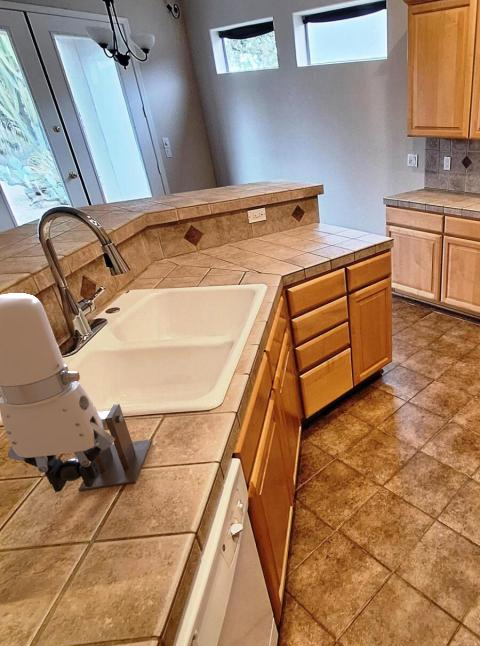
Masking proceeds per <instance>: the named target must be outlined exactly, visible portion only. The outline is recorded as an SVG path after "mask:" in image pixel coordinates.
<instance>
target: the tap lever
mask: <svg viewBox="0 0 480 646" xmlns="http://www.w3.org/2000/svg"><path fill="white" fill-rule="evenodd" d="M110 410H111V409H108V410H101V411H100V410H99V411H97V412H98V415H99V417H100V419H101V421H102V424H103V430H104V431H109V428H108V425H107V422H106V419H105V418H106V417H107V415H108V413H109V412H110ZM95 441H96V440H95V439H94V443H95ZM80 465H81V464H80V462H79V461H78V459H77V457H76V456H75V455H74V457H73V458H68V459H66V460H64V461H63V463H62V464H61V465H60V467H59V469H58V475H59V477H60V478H61V479H62V480H64V481H67V482H69V483H70V482H71V483H72V482H76V481H78V480H79V479H82V477H81V474H80V472H79V467H80Z"/></svg>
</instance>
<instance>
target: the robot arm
mask: <svg viewBox="0 0 480 646" xmlns="http://www.w3.org/2000/svg"><path fill="white" fill-rule="evenodd" d="M80 378H81V375H80V373H79V371H70V369H69V367H68V365H66V363H65V361H64V358H63V355H62V352H61V350H60V347H59V344H58V342H57V339H56V337H55V334H54V331H53V329H52V325H51V323H50V321H49V318H48V315H47V313H46V310H45V308H44V305H43V303H42V302H41V301H40V300H39V299H38V298H37V297H36V296H34V295H31V294H27V293H3V294H0V396H1V397H0V418H1V422H2V426H3V429H4V432H5V434H6V438H7V439H8V442H9V444H10V448H9V450H8V453H7V458H8V459H10V460H14V461H19V462H24V463H26V464H28V465H30V466H32V467H35V468H37V470H38V472H39V473H42V474H43V473H44V474H45V476H46V478H47V480H48V483H49V485H51V486H52V488H53V491H54V492H55V493H58V492H61V491H62V490H63V488H64V487H65V485H66V484H67V482H68V481H64V480H62V479H61V478H60V477H59V475H58V469H59V467H60V465H61V464H62V463H63V462H64V461H63V460H62V459H61V458H60V457H59V458H57V455H62V454H71V453H72V454H74V457H75V456H76V457H77V459H78V461H79V462H80V464H81V465H80V467H79V472H80V474H81V479H82V482H83V481H84V484H85V486H86V487H92V485H93V483H94V481H95V479H96V478H98V476H99V473H100V471H99V468H98V465H97V463H96V460H95V458H96V457H97V456H98V455H99V453H100V452H102V451H104V450H105V449H107V448H108V447H110V446H111V445H112V444H114V440H115V439H114V437H112V436H111V434H110V433H108V431H107V430H103V424H102V421H101V419H100V417H99V415H98V412H99V411H98V410H97V408H96V406H95V404H94V403H93V400H92V399H91V397H90V395H89V394H88V392H87V391H86V390H85V388H84V387H83V385H82V384H81V383H80V382H79V381H80V380H81V379H80ZM94 439H95V440H96V441H98V442H97V443H95V444H94Z"/></svg>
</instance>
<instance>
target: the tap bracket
mask: <svg viewBox="0 0 480 646" xmlns="http://www.w3.org/2000/svg"><path fill="white" fill-rule="evenodd" d="M109 410H110V412H109V413H108V415H107V417H106V418H105V419H106V422H107V425H108V428H109V430H108V431H109V434H110V435H111V436H112V437H114V439H115V440H114V442H113V444H112V445H111V446H110V447H108V448H107V449H105V450H104V451H102V452H100V453H99V455H98V456H97V457H96V458H95V460H96V463H97V465H98V468H99V471H100V473H99V476H98V478H96V479H95V481H94V483H93V485H92V487H86V486H85V484H84V481H83V480H82V482H81V483H80V485H79V488H78V489H77V490H78V492H79V493H82V492H88V491H94V490H101V489H108V488H114V487H115V488H116V487H121V486H128V485H135V484H136V483H137V481H138V479H139V477H140V473H141V471H142V470H143V469H142V468H143V466H144V464H145V462H146V459H147V456H148V454H149V453H150V450H151V447H152V444H153V442H154V441H153V438H149V439H142V440H135V441H133V440H132V438H131V435H130V432H129V429H128V428H129V427H128V426H127V423H126V420H125V416H124V413H123V411H122V407H121V404H120V403H117V404H113V405H112V406H111V408H110V409H109ZM97 442H98V441H95V443H97ZM95 443H94V444H95Z"/></svg>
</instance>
